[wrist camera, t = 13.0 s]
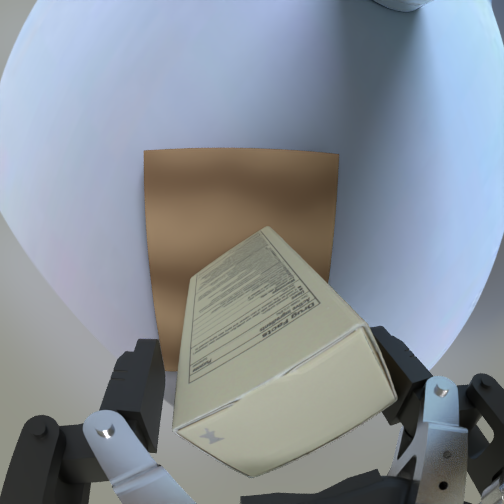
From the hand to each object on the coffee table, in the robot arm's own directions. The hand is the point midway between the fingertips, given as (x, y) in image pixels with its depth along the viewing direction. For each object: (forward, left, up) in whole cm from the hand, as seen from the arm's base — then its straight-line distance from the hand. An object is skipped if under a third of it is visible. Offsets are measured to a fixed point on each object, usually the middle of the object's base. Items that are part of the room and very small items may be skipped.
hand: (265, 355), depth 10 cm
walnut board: (0, 0, -11) cm, 11 cm away
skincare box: (0, 0, -9) cm, 9 cm away
